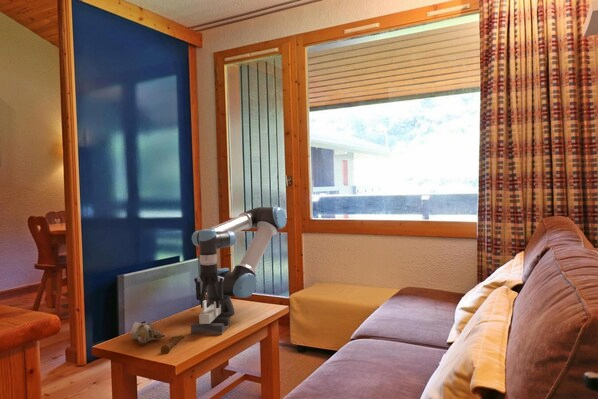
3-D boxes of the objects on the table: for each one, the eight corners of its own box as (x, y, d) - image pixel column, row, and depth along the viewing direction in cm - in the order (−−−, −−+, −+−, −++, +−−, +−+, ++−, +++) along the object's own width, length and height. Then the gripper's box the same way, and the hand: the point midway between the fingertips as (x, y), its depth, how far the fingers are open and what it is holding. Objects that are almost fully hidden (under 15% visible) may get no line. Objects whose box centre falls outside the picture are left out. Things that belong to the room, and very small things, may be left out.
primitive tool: (172, 337, 177) (172, 329, 177) (185, 337, 177) (184, 329, 177) (160, 355, 158) (159, 346, 158) (174, 354, 158) (174, 345, 158)
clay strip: (211, 312, 192) (211, 304, 192) (221, 312, 192) (220, 304, 192) (199, 323, 176) (199, 314, 176) (209, 323, 176) (209, 314, 176)
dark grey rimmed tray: (201, 325, 191) (200, 316, 191) (230, 325, 189) (229, 317, 189) (191, 334, 179) (190, 325, 179) (221, 334, 177) (221, 325, 177)
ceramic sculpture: (145, 314, 181) (166, 322, 173) (146, 333, 182) (166, 342, 173) (123, 321, 173) (143, 329, 164) (123, 341, 173) (144, 350, 165)
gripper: (186, 265, 181) (188, 317, 182) (224, 264, 179) (226, 318, 179) (193, 262, 189) (195, 312, 189) (230, 261, 186) (232, 312, 187)
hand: (210, 315), depth 184 cm, fingers closed on clay strip, 4 cm apart
